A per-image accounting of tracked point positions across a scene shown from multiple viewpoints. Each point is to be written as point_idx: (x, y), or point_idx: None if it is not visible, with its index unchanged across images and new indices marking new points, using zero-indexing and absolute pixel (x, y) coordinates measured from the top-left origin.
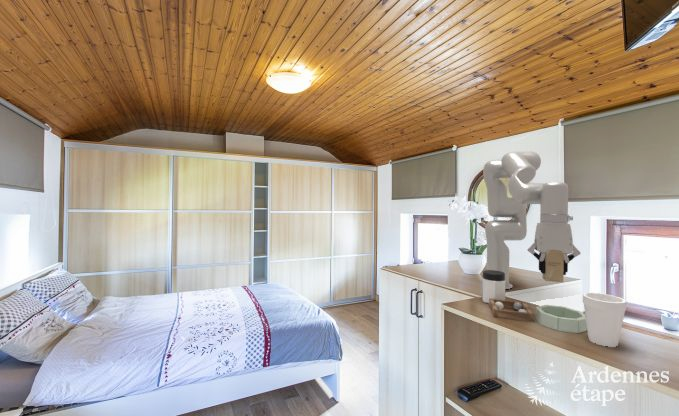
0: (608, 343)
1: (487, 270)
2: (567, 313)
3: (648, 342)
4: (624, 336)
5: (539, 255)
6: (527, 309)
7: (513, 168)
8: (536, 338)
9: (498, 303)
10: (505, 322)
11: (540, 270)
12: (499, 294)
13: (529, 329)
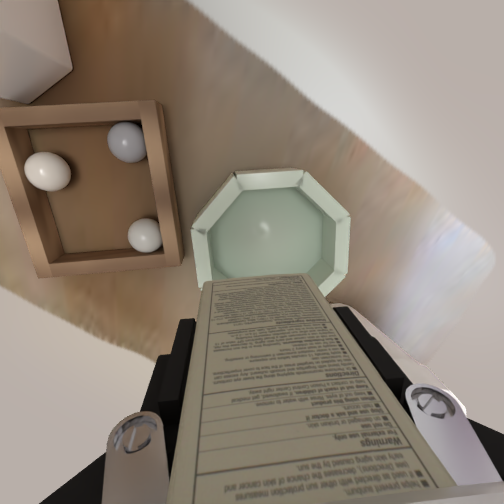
0: None
1: None
2: (305, 195)
3: (445, 282)
4: (409, 265)
5: (118, 501)
6: (162, 214)
7: None
8: None
9: (38, 185)
10: (97, 300)
11: (179, 323)
12: (11, 75)
13: (166, 324)
